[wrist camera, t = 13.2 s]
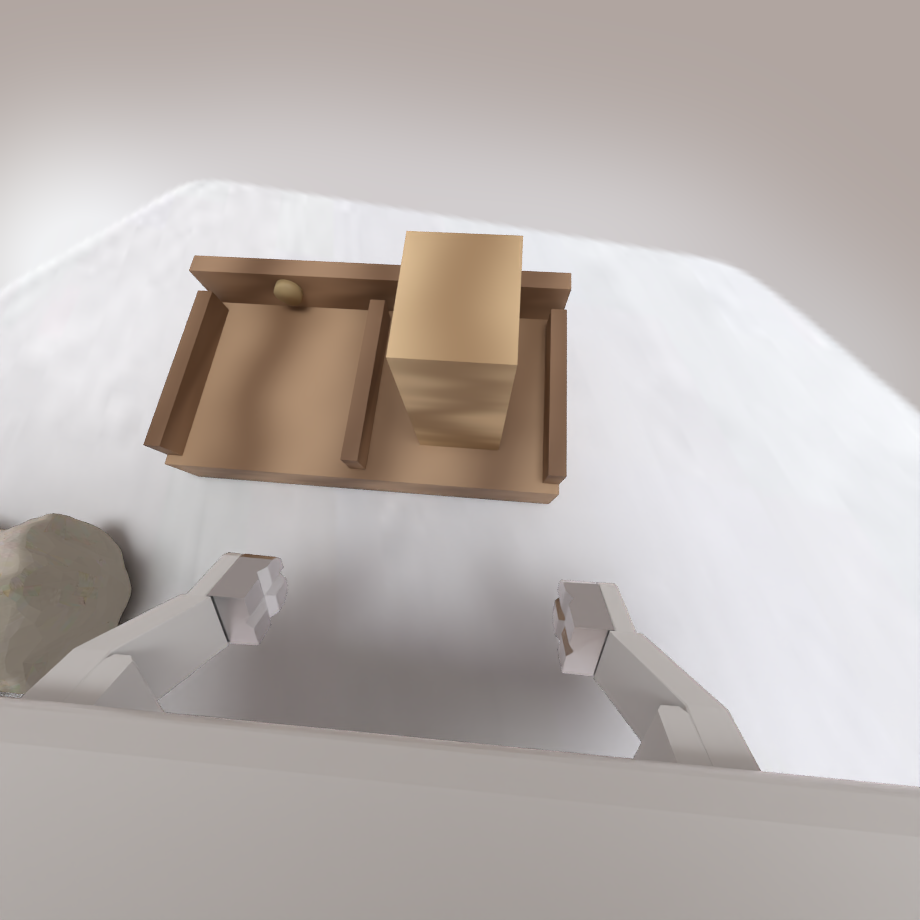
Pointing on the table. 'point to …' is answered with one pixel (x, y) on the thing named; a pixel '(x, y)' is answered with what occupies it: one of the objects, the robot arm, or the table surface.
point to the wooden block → (457, 335)
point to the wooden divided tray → (345, 386)
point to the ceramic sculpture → (55, 594)
